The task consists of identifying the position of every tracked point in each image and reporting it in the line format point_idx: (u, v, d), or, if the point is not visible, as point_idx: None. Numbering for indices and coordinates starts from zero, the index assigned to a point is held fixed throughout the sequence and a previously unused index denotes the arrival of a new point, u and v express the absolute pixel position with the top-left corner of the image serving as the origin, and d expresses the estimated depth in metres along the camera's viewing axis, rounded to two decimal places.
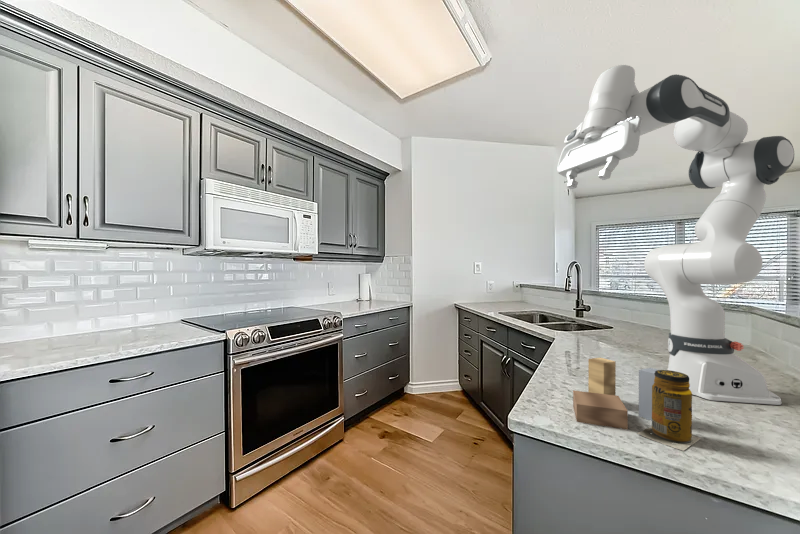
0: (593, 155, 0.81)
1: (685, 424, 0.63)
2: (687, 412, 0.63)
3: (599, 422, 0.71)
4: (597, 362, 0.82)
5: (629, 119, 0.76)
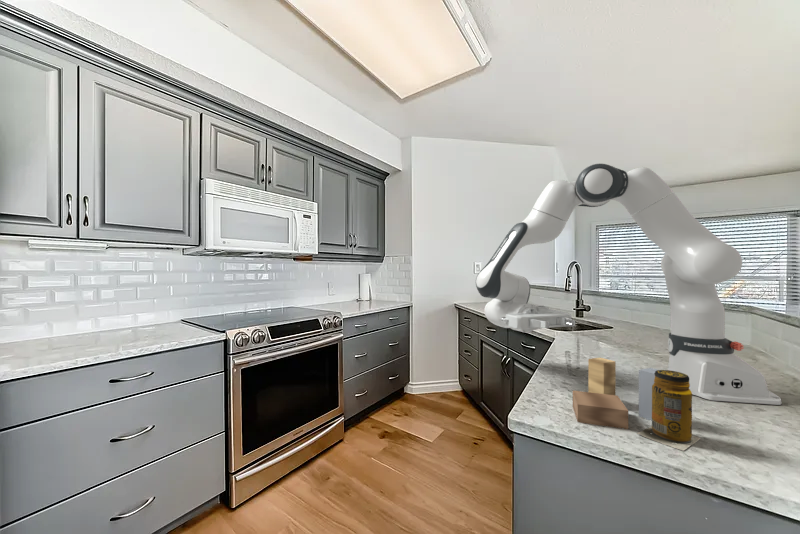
0: None
1: (685, 424, 0.63)
2: (687, 412, 0.63)
3: (600, 422, 0.71)
4: (597, 362, 0.82)
5: None
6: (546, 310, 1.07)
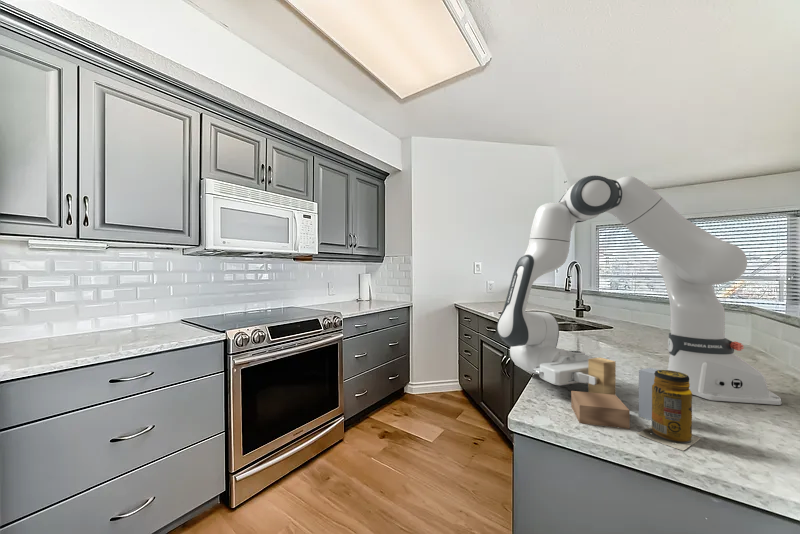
0: None
1: (685, 424, 0.63)
2: (687, 412, 0.63)
3: (602, 422, 0.71)
4: (597, 362, 0.82)
5: None
6: (583, 357, 0.95)
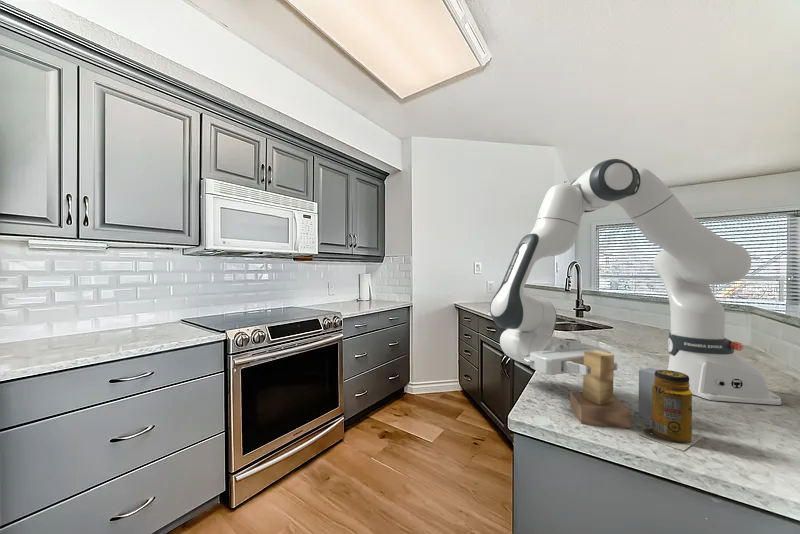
0: None
1: (685, 424, 0.63)
2: (687, 412, 0.63)
3: (603, 423, 0.70)
4: (593, 355, 0.74)
5: None
6: (578, 345, 0.86)
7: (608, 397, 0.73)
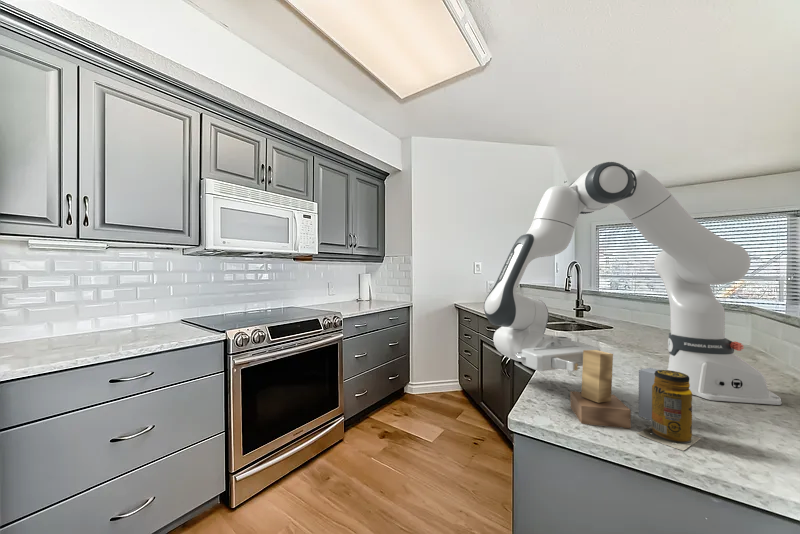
0: None
1: (685, 424, 0.63)
2: (687, 412, 0.63)
3: (603, 423, 0.70)
4: (593, 353, 0.74)
5: None
6: (569, 342, 0.89)
7: (607, 396, 0.74)
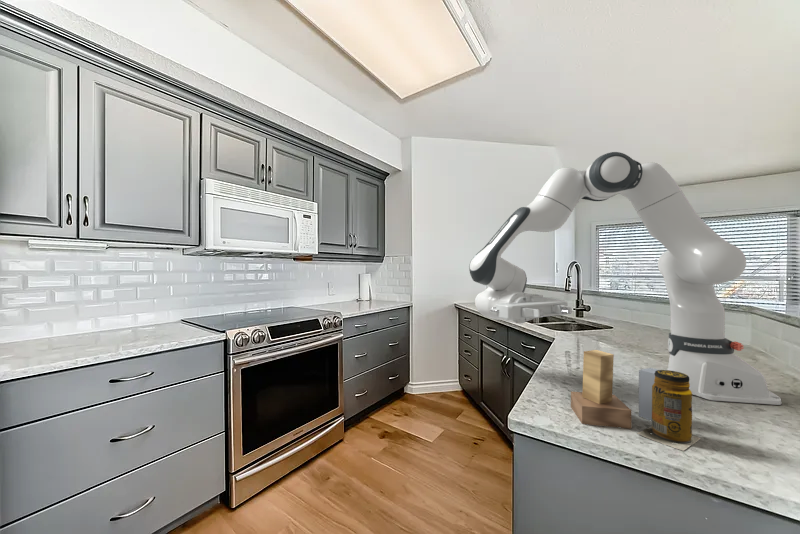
0: None
1: (685, 424, 0.63)
2: (687, 412, 0.63)
3: (604, 423, 0.70)
4: (593, 355, 0.74)
5: None
6: (540, 298, 0.98)
7: (608, 397, 0.74)
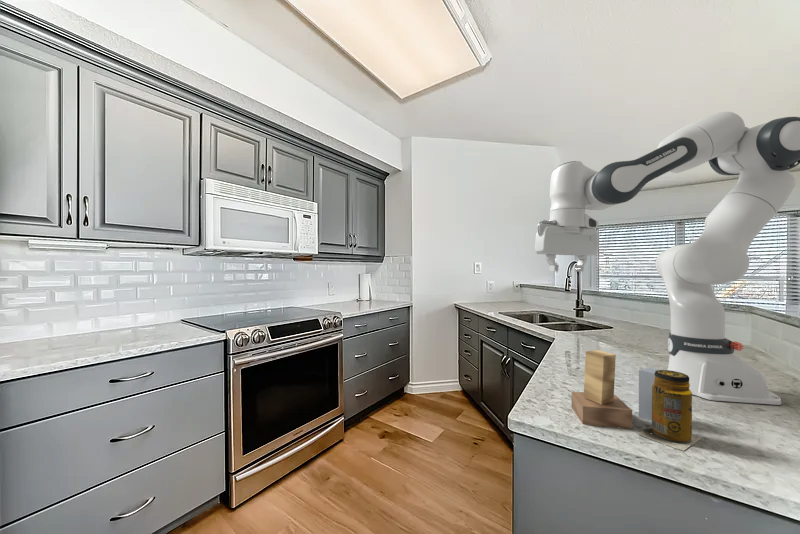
0: None
1: (685, 424, 0.63)
2: (687, 412, 0.63)
3: (605, 423, 0.70)
4: (596, 355, 0.73)
5: None
6: (589, 232, 0.97)
7: (609, 397, 0.73)
